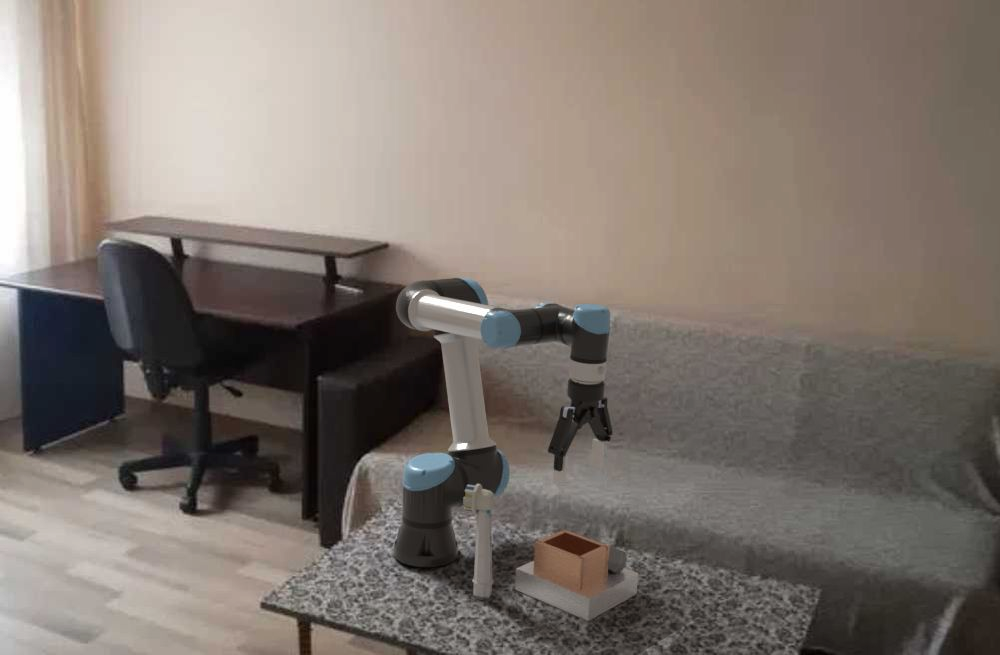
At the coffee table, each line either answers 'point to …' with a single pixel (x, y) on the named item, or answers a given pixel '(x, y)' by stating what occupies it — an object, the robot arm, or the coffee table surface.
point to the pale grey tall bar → (481, 538)
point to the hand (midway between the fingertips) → (578, 476)
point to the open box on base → (577, 575)
